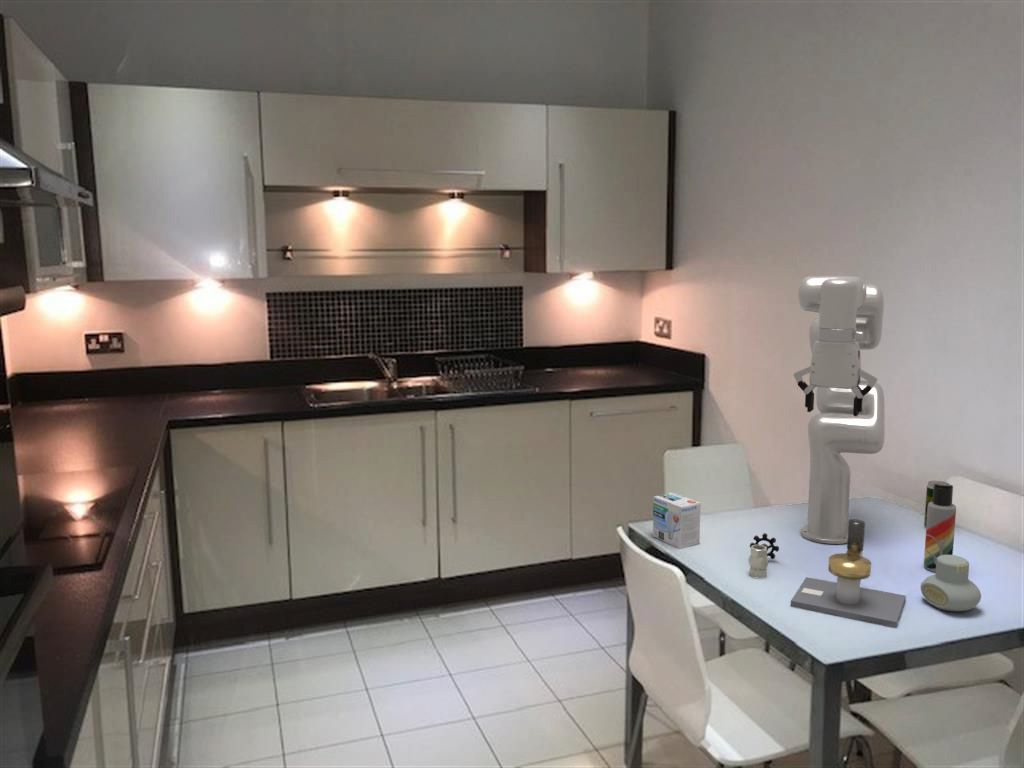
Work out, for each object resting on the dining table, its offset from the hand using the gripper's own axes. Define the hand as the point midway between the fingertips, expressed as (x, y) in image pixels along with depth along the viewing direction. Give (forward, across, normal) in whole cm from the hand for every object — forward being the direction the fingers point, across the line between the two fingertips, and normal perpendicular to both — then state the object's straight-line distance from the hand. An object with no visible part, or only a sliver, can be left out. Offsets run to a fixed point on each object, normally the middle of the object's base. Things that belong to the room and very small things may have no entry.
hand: (832, 412), depth 188 cm
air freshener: (+37, -26, +8) cm, 46 cm away
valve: (+37, +13, +7) cm, 39 cm away
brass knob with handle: (+29, -8, +15) cm, 34 cm away
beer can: (+36, -19, -41) cm, 58 cm away
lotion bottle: (+36, -22, -12) cm, 44 cm away
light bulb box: (+37, +36, -1) cm, 51 cm away
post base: (+36, -8, +17) cm, 41 cm away
